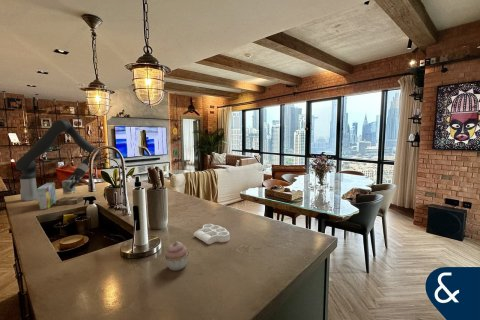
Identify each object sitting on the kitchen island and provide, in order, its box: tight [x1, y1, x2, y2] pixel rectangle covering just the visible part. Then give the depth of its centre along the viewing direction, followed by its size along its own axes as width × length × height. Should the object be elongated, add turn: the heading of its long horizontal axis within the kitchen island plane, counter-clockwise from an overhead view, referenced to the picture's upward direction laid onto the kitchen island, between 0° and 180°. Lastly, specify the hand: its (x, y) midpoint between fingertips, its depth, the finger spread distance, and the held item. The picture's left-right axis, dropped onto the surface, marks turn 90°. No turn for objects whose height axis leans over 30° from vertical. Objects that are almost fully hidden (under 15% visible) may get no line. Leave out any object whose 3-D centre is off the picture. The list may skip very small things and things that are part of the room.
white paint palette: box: [193, 223, 231, 245], centre depth 114 cm, size 3×18×15 cm
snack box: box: [36, 182, 58, 211], centre depth 171 cm, size 21×6×15 cm, turn 25°
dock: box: [55, 196, 84, 206], centre depth 178 cm, size 14×10×3 cm
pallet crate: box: [61, 179, 77, 196], centre depth 176 cm, size 6×6×10 cm
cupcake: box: [163, 241, 190, 272], centre depth 88 cm, size 9×9×10 cm
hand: (67, 187), depth 175 cm, fingers closed on pallet crate, 8 cm apart
